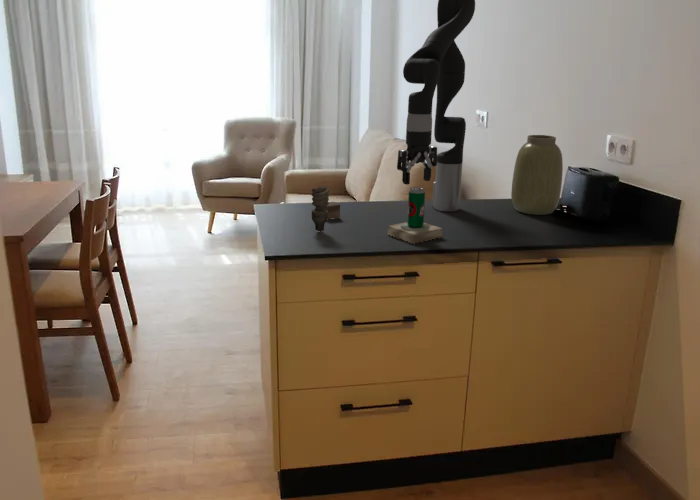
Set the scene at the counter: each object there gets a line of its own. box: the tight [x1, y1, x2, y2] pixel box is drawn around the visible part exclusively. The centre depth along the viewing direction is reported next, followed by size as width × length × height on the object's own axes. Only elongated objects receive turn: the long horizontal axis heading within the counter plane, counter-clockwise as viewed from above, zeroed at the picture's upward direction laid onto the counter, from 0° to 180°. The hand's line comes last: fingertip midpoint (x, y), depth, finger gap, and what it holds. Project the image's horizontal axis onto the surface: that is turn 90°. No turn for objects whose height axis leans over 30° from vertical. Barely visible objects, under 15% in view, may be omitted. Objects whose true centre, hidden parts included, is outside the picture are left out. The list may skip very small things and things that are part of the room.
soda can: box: [406, 186, 426, 228], centre depth 193 cm, size 5×5×12 cm
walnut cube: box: [325, 201, 341, 219], centre depth 215 cm, size 5×5×5 cm
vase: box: [510, 134, 564, 216], centre depth 226 cm, size 17×17×27 cm
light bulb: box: [311, 185, 330, 233], centre depth 196 cm, size 6×6×15 cm
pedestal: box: [387, 221, 443, 245], centre depth 196 cm, size 12×12×3 cm
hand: (416, 182), depth 191 cm, fingers open, 8 cm apart
